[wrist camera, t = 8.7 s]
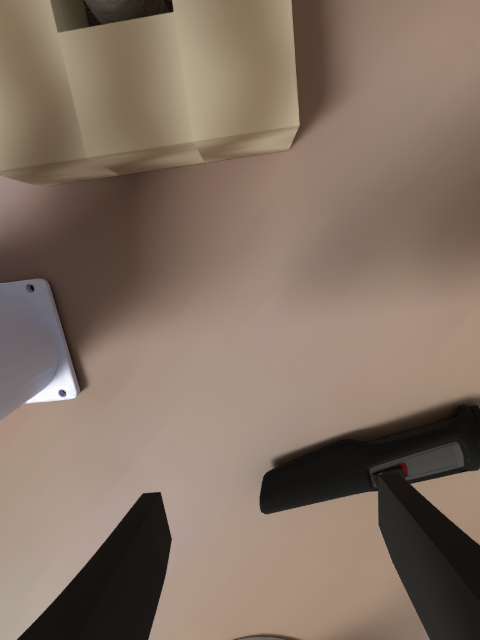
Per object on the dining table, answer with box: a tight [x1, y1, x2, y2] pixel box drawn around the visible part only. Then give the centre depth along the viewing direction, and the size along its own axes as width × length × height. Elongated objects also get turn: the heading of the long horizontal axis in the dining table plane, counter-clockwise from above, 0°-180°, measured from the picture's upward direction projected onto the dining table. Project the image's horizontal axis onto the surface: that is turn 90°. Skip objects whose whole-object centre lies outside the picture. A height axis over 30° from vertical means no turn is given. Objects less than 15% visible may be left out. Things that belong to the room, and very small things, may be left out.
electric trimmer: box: [260, 405, 480, 514], centre depth 19 cm, size 4×16×3 cm, turn 109°
